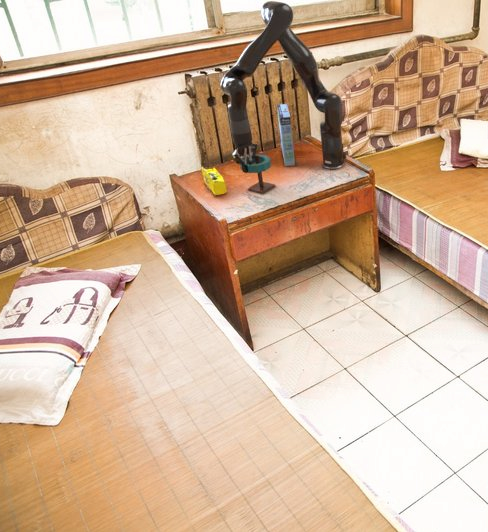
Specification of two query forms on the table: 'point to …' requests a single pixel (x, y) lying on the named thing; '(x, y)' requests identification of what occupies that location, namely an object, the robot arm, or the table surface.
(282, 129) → the gum box
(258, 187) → the brown peg stand
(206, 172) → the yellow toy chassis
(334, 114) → the robot arm
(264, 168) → the teal ring
